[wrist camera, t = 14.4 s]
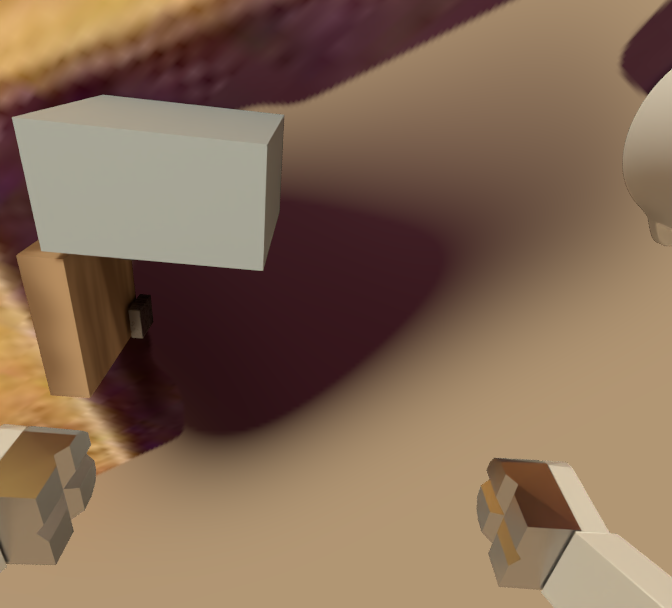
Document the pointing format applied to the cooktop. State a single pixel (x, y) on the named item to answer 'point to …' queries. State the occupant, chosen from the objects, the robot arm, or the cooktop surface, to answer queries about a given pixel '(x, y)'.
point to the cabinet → (153, 180)
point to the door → (77, 315)
